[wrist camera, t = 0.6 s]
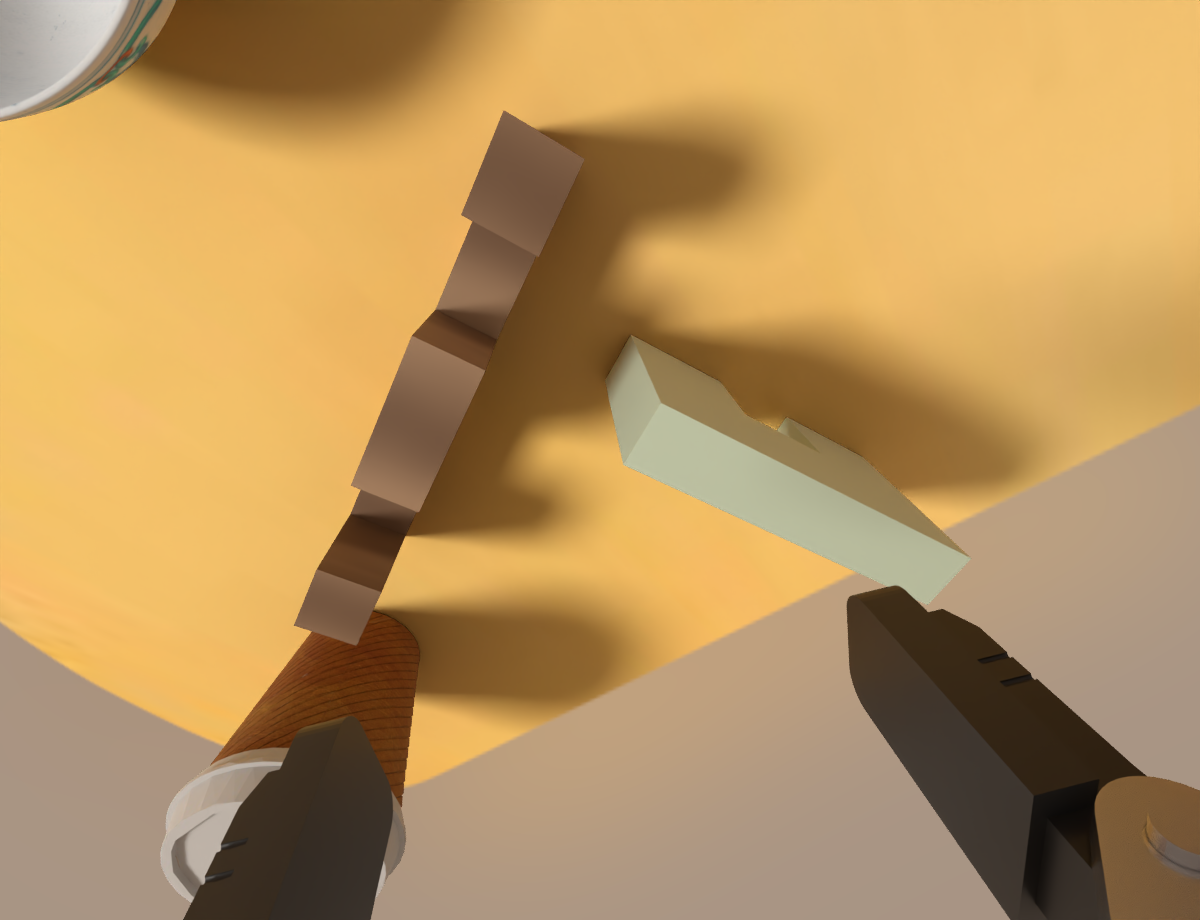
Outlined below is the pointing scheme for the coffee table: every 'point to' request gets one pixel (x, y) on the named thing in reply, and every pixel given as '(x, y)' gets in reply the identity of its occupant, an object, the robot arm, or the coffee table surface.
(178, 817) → the disposable coffee cup
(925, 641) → the robot arm
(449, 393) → the rail
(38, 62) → the chinaware
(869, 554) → the cross piece
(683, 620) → the coffee table surface
